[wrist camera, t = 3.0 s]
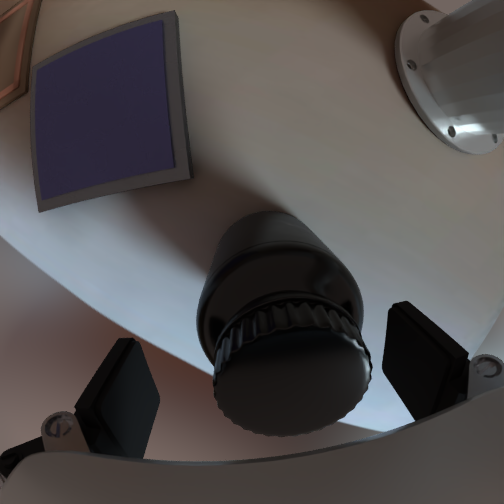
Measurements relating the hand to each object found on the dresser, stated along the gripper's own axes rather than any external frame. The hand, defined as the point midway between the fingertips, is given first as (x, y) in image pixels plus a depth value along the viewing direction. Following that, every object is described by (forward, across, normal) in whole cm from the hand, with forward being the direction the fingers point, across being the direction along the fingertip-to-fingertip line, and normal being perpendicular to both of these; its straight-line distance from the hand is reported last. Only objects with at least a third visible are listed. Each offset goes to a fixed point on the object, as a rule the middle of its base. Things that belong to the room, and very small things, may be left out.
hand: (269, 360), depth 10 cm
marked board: (+10, +23, -24) cm, 35 cm away
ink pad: (+10, +9, -13) cm, 18 cm away
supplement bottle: (+10, -1, -1) cm, 10 cm away
